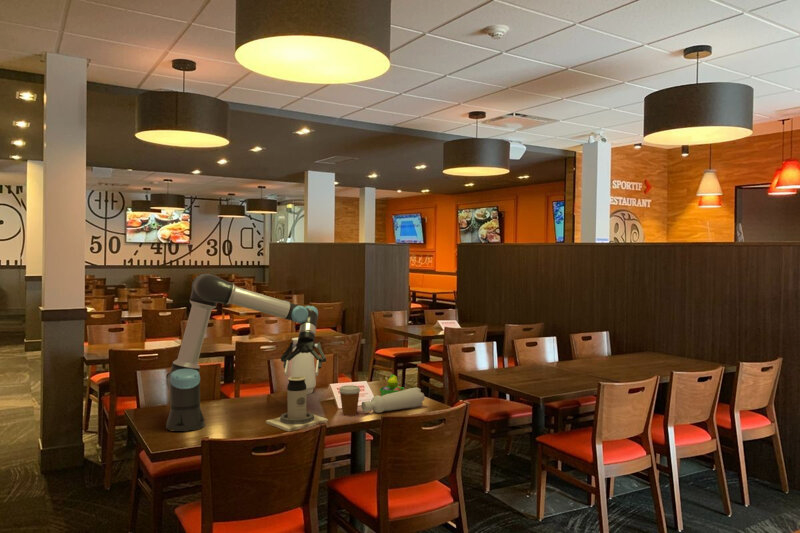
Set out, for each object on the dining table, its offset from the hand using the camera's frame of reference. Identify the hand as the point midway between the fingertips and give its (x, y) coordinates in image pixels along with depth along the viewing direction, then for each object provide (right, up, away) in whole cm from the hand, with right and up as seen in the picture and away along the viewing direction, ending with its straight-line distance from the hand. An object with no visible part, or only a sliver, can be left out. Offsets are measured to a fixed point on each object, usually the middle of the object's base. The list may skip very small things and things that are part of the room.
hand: (301, 374), depth 269 cm
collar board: (-1, -19, -8) cm, 21 cm away
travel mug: (-1, -18, -8) cm, 20 cm away
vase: (-7, -18, +49) cm, 53 cm away
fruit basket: (+40, -19, +36) cm, 56 cm away
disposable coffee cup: (+21, -19, +6) cm, 29 cm away
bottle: (+40, -19, +13) cm, 46 cm away
